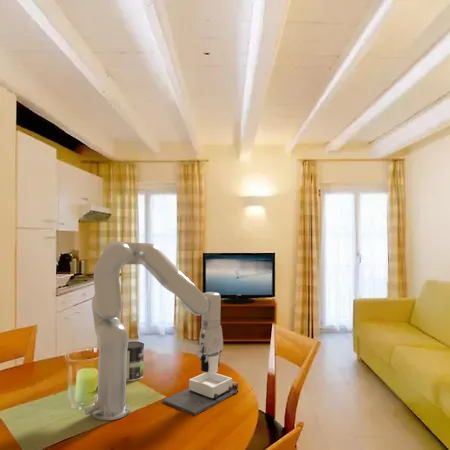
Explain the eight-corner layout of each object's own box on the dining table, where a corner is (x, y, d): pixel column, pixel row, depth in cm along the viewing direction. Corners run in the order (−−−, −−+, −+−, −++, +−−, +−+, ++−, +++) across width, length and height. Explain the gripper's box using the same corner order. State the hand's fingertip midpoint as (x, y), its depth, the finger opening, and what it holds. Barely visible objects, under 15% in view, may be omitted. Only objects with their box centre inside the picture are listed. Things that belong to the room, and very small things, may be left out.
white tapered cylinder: (198, 372, 149) (198, 354, 149) (207, 366, 155) (207, 349, 155) (213, 375, 145) (213, 357, 146) (222, 369, 152) (222, 352, 152)
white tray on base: (213, 399, 141) (214, 388, 141) (187, 389, 150) (187, 379, 150) (233, 389, 151) (233, 378, 151) (207, 380, 159) (207, 370, 159)
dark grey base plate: (194, 415, 131) (194, 405, 131) (163, 402, 141) (163, 392, 141) (238, 391, 152) (238, 383, 152) (208, 381, 161) (208, 373, 162)
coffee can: (145, 372, 170) (146, 341, 171) (140, 381, 160) (140, 348, 160) (123, 372, 170) (123, 340, 171) (116, 381, 160) (116, 347, 160)
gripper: (203, 329, 141) (203, 377, 141) (231, 321, 155) (230, 365, 155) (189, 326, 146) (188, 372, 146) (217, 318, 160) (216, 361, 159)
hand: (210, 368), depth 150 cm, fingers closed on white tapered cylinder, 6 cm apart
